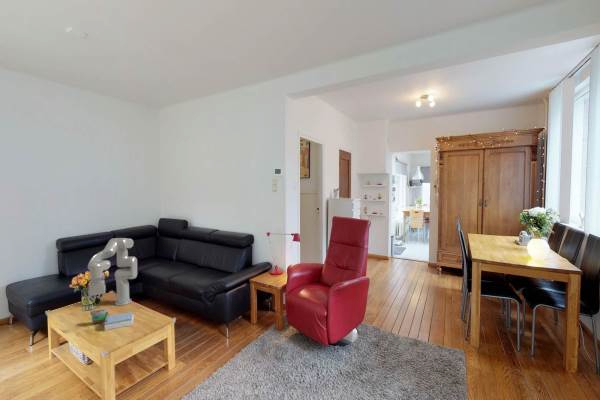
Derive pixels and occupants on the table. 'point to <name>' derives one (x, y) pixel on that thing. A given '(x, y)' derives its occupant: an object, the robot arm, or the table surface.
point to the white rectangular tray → (118, 324)
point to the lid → (118, 318)
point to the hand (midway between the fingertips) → (97, 303)
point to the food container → (99, 316)
